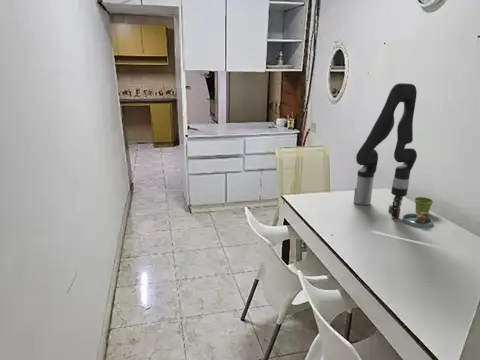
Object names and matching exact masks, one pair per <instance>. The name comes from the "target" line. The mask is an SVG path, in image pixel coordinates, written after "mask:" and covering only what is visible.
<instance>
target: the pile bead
mask: <svg viewBox="0 0 480 360" xmlns="http://www.w3.org/2000/svg"><path fill="white" fill-rule="evenodd" d="M392 207H393V204H389V206H388V213H390V214H392Z"/></svg>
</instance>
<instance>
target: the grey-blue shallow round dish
mask: <svg viewBox="0 0 480 360" xmlns="http://www.w3.org/2000/svg"><path fill="white" fill-rule="evenodd" d="M417 215H420V214H417V213H405V214H403V215H402V221H403V223H404V224H407V225H409V226H411V227H415V228H430V227H432V226H433V224H434V223H433V222H434V221H433V219H432V218H431V217H429V219H428V223H425V224H418V223H416V220H417Z"/></svg>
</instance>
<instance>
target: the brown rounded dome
mask: <svg viewBox="0 0 480 360" xmlns="http://www.w3.org/2000/svg"><path fill="white" fill-rule="evenodd" d="M394 209H396V208H394ZM390 214H391V215H390V217H392V214H393V211H392V213H390ZM400 215H401V207H400V208H398V213H397V217H396V218H395V219H398V218H400Z"/></svg>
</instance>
